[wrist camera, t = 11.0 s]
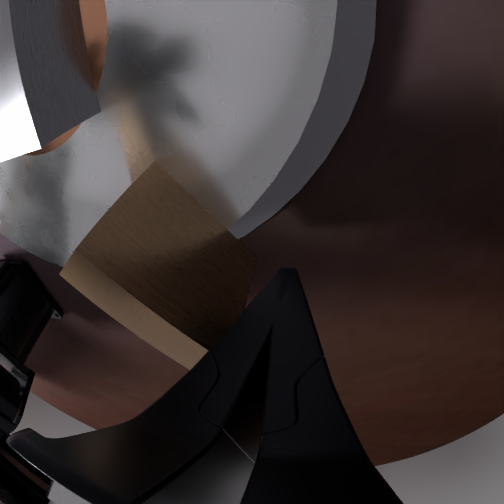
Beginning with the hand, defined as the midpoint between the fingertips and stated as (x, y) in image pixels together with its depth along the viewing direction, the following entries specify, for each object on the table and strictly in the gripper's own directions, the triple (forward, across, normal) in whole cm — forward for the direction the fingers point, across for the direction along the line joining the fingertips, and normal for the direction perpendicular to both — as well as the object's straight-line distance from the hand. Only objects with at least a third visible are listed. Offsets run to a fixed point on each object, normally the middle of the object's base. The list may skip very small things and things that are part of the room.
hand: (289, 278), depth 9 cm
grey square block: (+2, +9, -9) cm, 13 cm away
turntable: (+4, +9, -9) cm, 14 cm away
